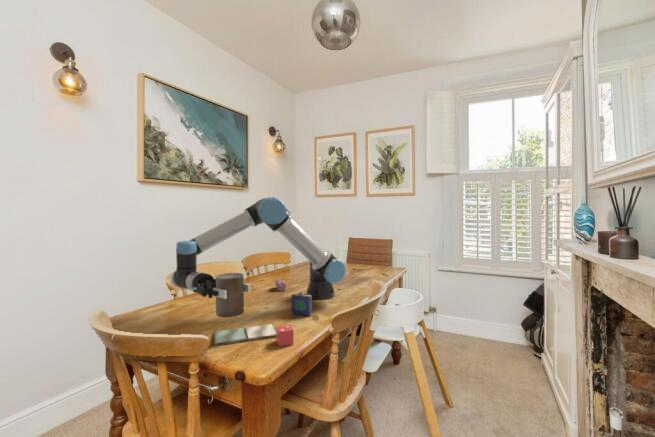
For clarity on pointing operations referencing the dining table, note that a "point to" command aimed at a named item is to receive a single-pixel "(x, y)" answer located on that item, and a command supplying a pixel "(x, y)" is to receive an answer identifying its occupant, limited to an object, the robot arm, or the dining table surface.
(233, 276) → the pillar candle
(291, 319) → the dining table surface
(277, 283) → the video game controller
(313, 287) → the robot arm
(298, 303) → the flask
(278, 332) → the red die
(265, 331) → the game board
